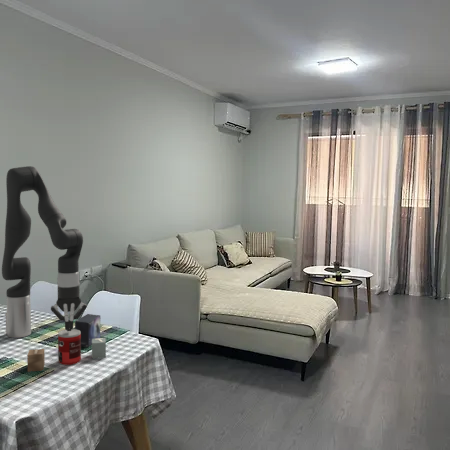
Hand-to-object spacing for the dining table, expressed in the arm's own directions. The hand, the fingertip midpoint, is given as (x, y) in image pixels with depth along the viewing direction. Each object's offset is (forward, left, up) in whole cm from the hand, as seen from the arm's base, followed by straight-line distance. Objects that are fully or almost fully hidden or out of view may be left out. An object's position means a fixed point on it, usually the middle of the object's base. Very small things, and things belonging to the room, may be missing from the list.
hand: (69, 330), depth 164 cm
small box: (-7, +18, -12) cm, 23 cm away
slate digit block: (+6, +9, -12) cm, 16 cm away
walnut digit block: (-6, -10, -12) cm, 16 cm away
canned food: (0, 0, -12) cm, 12 cm away
